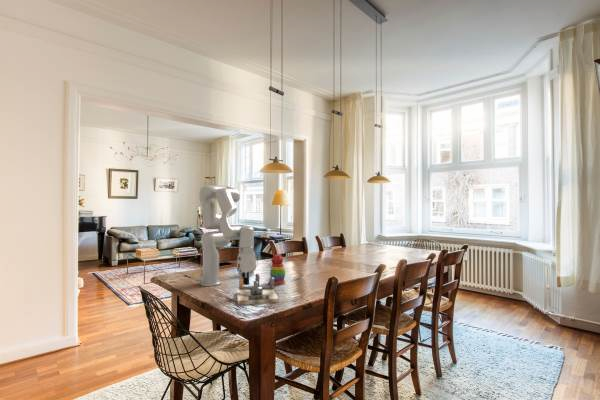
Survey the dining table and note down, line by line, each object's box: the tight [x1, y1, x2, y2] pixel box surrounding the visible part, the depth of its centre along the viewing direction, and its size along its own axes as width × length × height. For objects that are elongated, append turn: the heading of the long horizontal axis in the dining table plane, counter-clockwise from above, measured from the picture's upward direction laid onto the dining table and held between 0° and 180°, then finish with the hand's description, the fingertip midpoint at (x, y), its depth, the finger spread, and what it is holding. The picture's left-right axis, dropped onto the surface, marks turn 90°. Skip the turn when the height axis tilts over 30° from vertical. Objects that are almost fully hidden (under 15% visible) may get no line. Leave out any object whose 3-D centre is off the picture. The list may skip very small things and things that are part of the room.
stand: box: [235, 289, 280, 306], centre depth 167 cm, size 20×21×4 cm
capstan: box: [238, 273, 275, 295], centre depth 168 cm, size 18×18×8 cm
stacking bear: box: [267, 253, 286, 286], centre depth 199 cm, size 11×10×18 cm
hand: (245, 284), depth 170 cm, fingers closed
